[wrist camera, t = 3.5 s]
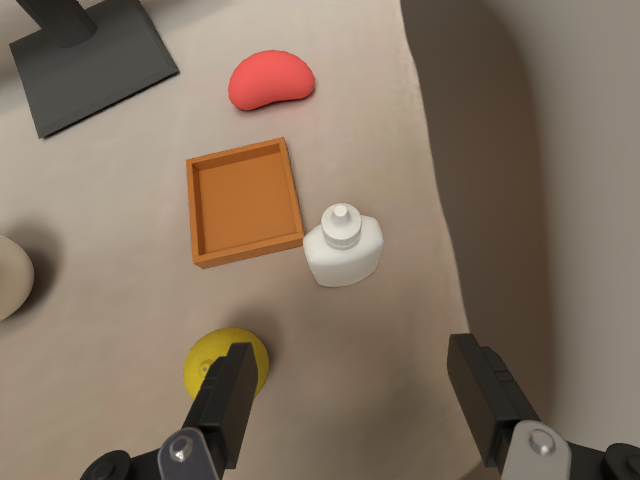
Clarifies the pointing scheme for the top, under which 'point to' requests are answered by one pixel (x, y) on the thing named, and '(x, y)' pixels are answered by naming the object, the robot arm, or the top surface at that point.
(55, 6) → the computer monitor
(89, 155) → the top surface
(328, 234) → the eye dropper bottle
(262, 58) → the red kidney bean shape
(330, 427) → the top surface
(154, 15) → the top surface
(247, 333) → the lemon
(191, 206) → the amber tray
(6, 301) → the silver rounded lump
